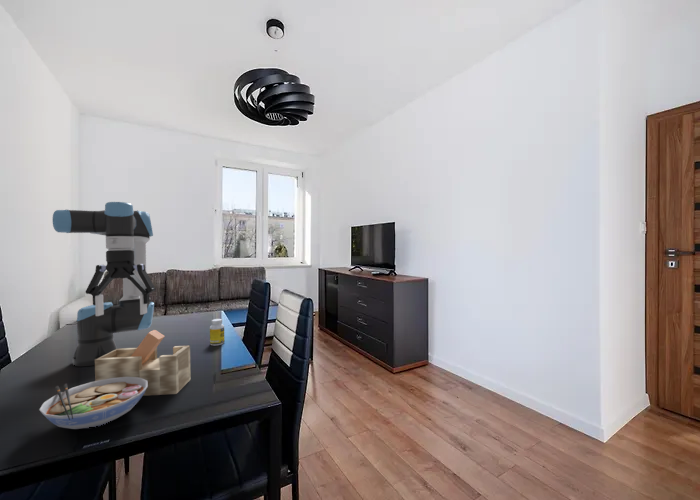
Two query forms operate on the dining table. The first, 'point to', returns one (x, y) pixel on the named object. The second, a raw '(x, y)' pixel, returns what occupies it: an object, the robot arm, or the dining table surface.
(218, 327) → the pill bottle
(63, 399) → the ramen bowl
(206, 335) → the dining table surface
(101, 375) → the box
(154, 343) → the tan block
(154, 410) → the dining table surface
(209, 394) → the dining table surface
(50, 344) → the dining table surface
